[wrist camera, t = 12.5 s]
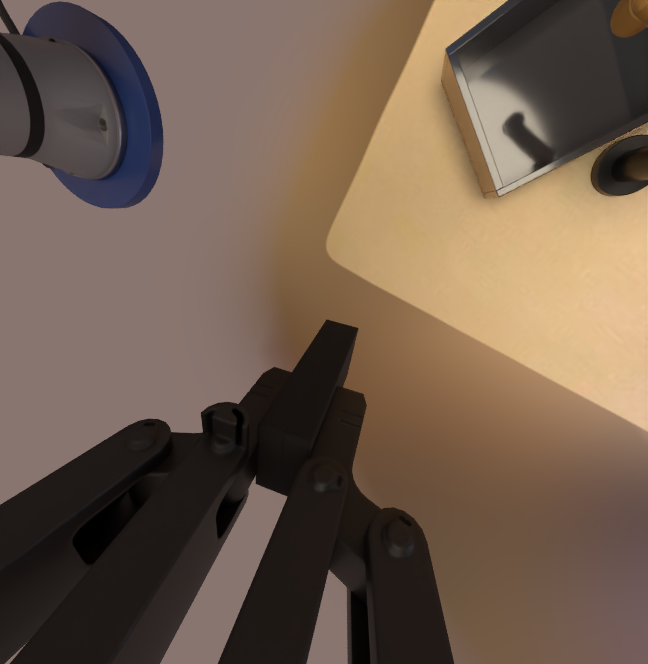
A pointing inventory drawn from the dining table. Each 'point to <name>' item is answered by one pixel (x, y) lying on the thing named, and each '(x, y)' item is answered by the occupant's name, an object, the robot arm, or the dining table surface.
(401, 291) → the dining table surface
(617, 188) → the faucet base
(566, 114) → the sink
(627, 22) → the faucet spout
